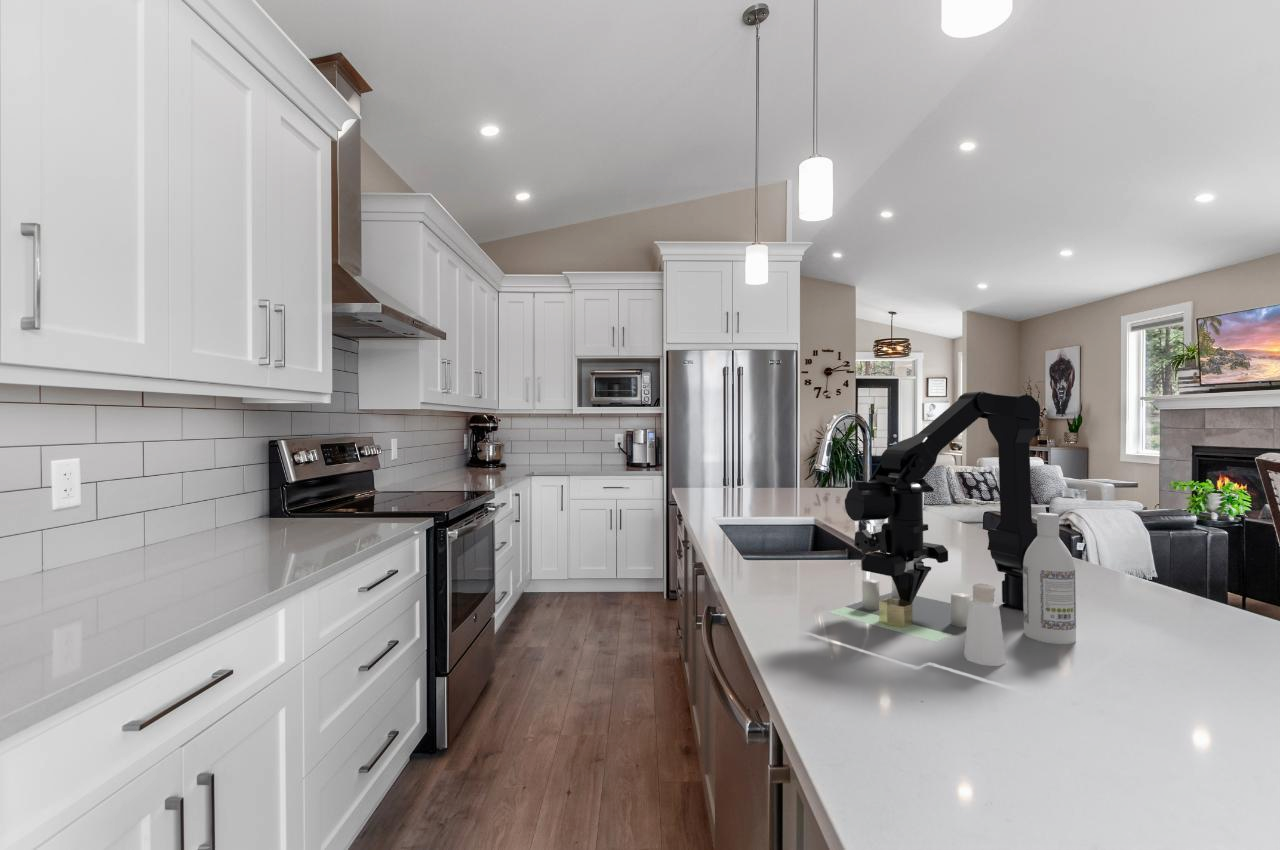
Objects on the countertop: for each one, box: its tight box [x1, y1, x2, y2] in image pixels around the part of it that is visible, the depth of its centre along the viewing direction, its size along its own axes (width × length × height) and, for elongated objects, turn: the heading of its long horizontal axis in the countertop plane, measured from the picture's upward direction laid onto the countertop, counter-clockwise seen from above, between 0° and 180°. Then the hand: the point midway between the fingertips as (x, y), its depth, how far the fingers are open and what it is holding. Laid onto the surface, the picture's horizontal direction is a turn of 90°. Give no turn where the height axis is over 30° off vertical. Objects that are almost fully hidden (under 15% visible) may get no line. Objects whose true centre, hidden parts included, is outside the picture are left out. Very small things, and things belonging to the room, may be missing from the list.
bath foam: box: [1023, 512, 1077, 645], centre depth 98 cm, size 7×7×20 cm
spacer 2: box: [891, 578, 900, 599], centre depth 120 cm, size 3×3×5 cm
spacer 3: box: [950, 592, 972, 628], centre depth 104 cm, size 3×3×5 cm
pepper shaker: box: [963, 583, 1007, 667], centre depth 89 cm, size 5×5×11 cm
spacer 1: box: [861, 578, 881, 610], centre depth 114 cm, size 3×3×5 cm
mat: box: [827, 592, 967, 643], centre depth 111 cm, size 20×23×1 cm
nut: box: [879, 598, 913, 628], centre depth 106 cm, size 5×5×4 cm
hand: (906, 606), depth 108 cm, fingers closed
